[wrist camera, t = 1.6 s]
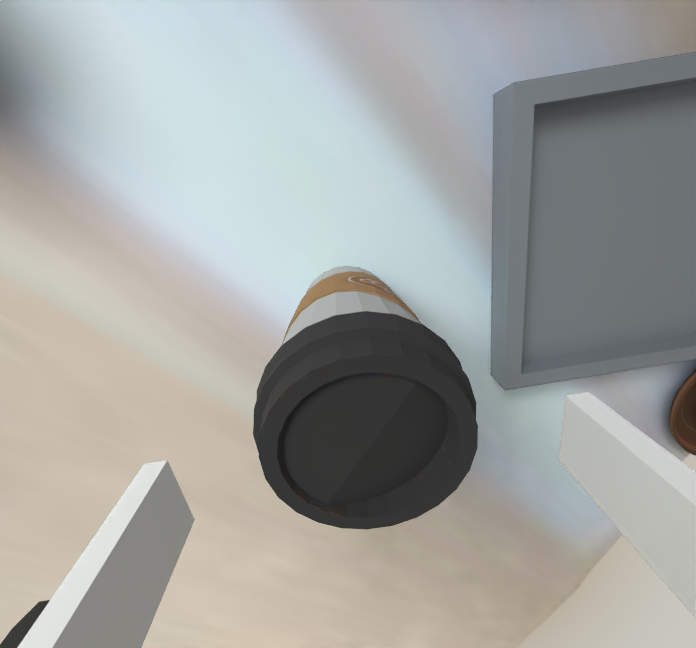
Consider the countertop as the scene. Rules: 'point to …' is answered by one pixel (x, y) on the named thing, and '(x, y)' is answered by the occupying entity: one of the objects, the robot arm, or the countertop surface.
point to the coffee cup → (363, 408)
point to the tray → (594, 222)
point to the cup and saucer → (685, 415)
